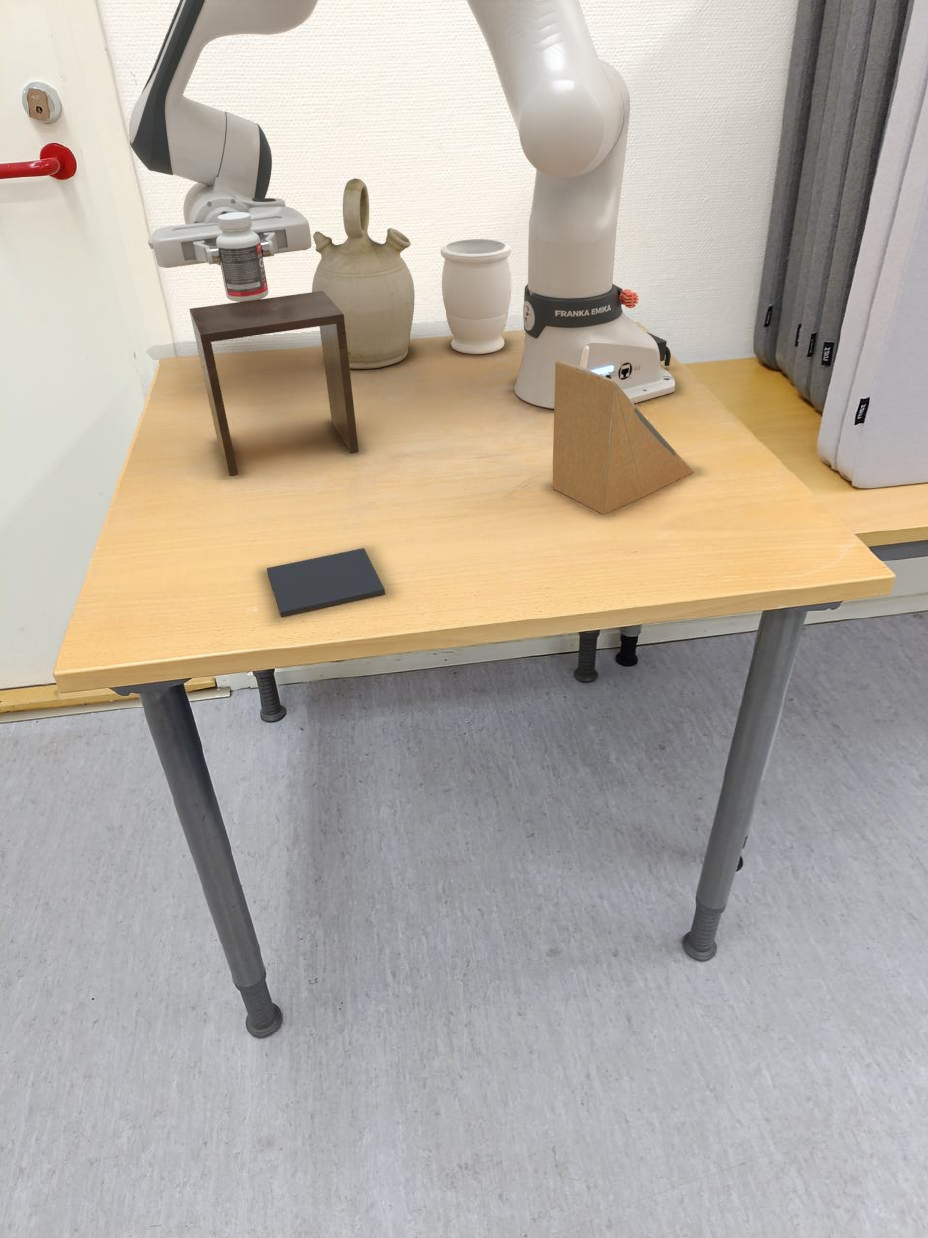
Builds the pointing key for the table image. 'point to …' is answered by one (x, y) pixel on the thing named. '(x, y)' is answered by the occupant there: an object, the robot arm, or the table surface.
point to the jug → (367, 285)
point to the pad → (324, 582)
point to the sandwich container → (606, 443)
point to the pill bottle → (241, 258)
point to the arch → (273, 319)
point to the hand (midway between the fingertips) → (241, 253)
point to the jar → (476, 293)
